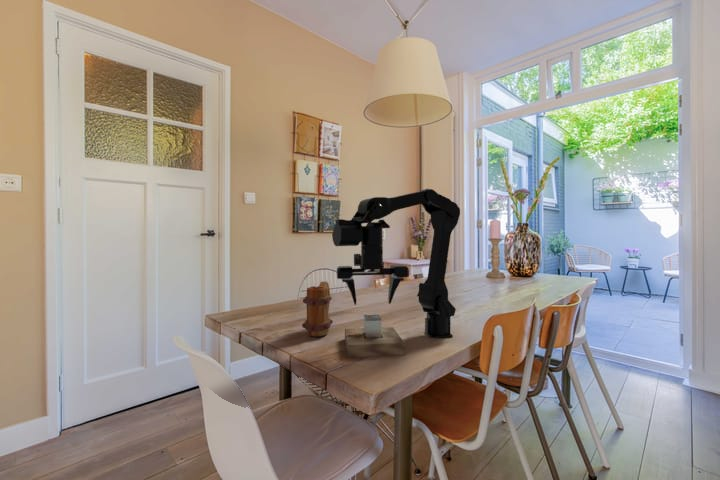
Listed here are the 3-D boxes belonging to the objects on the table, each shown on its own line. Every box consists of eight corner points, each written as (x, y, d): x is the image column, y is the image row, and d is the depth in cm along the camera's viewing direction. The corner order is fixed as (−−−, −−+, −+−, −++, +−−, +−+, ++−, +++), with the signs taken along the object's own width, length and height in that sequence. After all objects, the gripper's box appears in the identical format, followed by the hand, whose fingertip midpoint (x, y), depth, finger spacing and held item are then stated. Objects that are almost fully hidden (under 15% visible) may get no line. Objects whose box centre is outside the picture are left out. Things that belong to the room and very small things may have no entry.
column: (378, 343, 89) (378, 314, 89) (381, 348, 85) (381, 318, 85) (364, 344, 89) (364, 315, 89) (366, 349, 85) (365, 318, 85)
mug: (325, 340, 92) (325, 287, 92) (298, 338, 94) (298, 286, 94) (339, 326, 107) (339, 280, 107) (315, 325, 108) (315, 279, 108)
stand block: (392, 337, 95) (392, 325, 95) (404, 354, 81) (404, 340, 81) (344, 339, 93) (344, 327, 93) (348, 357, 79) (348, 343, 79)
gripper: (399, 244, 96) (400, 297, 96) (335, 245, 94) (336, 299, 94) (409, 245, 85) (409, 305, 85) (337, 246, 83) (337, 307, 83)
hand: (372, 304), depth 87 cm, fingers open, 9 cm apart
